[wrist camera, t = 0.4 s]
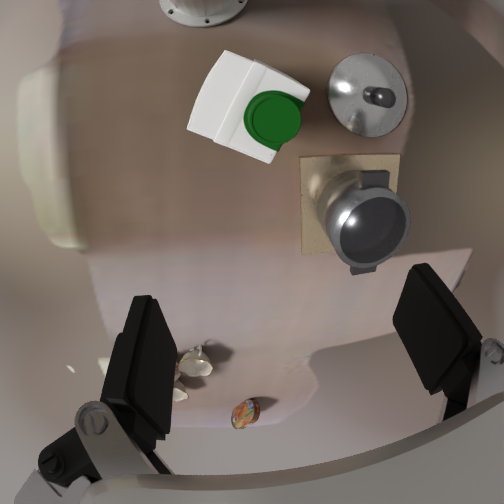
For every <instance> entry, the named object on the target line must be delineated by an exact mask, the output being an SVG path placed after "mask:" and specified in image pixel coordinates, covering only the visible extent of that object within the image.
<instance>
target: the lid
mask: <svg viewBox="0 0 504 504" xmlns="http://www.w3.org/2000/svg"><path fill="white" fill-rule="evenodd" d="M327 95H328V101H329V105H330V107H331V110H332V112H333V114H334V115H335V117H336V118H337V120H338V121H339V122H340V123H341V124H342V125H343V126H344V127H345V128H347V129H348V130H350V131H351V132H353V133H355V134H358V135H361V136H365V137H378V136H382V135H385V134H387V133H389V132H390V131H392V130H393V129H394V128H395V127H396V126H397V125H398V124H399V123H400V121H401V120H402V118H403V115H404V113H405V110H406V104H407V93H406V88H405V85H404V82H403V80H402V78H401V76H400V74H399V73H398V71H397V70H396V69H395V67H394V66H393V65H392V64H390V63H389V62H388V61H387V60H385V59H383V58H381V57H379V56H377V55H374V54H369V53H360V54H354V55H350V56H348V57H346V58H344V59H342V60H341V61H340V62H339V63H338V64H337V65H336V66H335V67H334V69H333V70H332V72H331V74H330V77H329V80H328V86H327Z"/></svg>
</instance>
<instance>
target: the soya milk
mask: <svg viewBox="0 0 504 504" xmlns="http://www.w3.org/2000/svg"><path fill="white" fill-rule="evenodd" d="M253 60H254V61H253ZM253 60H250V59H248V58H245V57H243V56H240V55H238V54H235V53H232V52H230V51H227V50H225V51H224V52H223V54H222V55H221V56H220V58H219V59H218V61H217V62H216V64H215V65H214V66H213V68H212V69H211V71H210V72H209V74H208V76H207V78H206V80H205V82H204V84H203V86H202V88H201V90H200V92H199V94H198V97H197V99H196V101H195V104H194V107H193V110H192V114H191V117H190V120H189V123H188V126H187V130H190V131H192V132H195V133H198V134H200V135H203V136H205V137H208V138H210V139H213V141H214V142H216V143H218V144H221V145H223V146H227V147H229V148H232V149H234V150H237V151H239V152H241V153H244V154H246V155H249V156H251V157H254V158H256V159H259V160H261V161H263V162H266V163H268V164H270V163H271V162H272V160H273V158H274V156H275V154H276V152H278V151H279V150H280V148H281V146H282V144H284V143H286V142H288V141H290V140H291V139H292V138H294V137H295V135H296V134H297V133H298V131H299V129H300V126H301V114H300V111H301V110H302V108H303V106H304V104H305V102H304V101H305V100H306V98H307V96H308V95H309V93H310V89H308V88H307V87H305V86H304V85H302V84H301V83H299V82H298V81H296V80H295V79H293V78H291V77H290V76H288V75H286V74H285V73H283V72H281V71H279V70H277V69H275V68H273V67H271V66H269V65H267V64H265V63H263V62H261V61H259V60H256V59H253Z"/></svg>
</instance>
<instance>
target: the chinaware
mask: <svg viewBox="0 0 504 504" xmlns="http://www.w3.org/2000/svg"><path fill="white" fill-rule="evenodd" d="M213 367H214V366H213V365H212V364H211V363H210V360H209V358H208V356H207V355H206V354H205V353H203V352H202V345H199V347H197V348H195V347H194V348H193V349H191V350H189V352H187V353H186V354H185V355H184V356H183V358H182V360H181V361H180V362H179V364H178V363H177V359H176V368H175V378H174V388H173V400H174V401H182V400H183V399H188V398H189V397H188V394H187V393H186V389H185V387H184V385H183V384H182V383H181V382H180V380H179V379H178V378H179V377H180V375H181V372H185V373H186V374H187V375H188V376H191V377H198V376H200V374H201V375H202V376H209V375H210V374H211V372H212V369H213Z"/></svg>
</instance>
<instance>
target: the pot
mask: <svg viewBox="0 0 504 504" xmlns="http://www.w3.org/2000/svg"><path fill="white" fill-rule="evenodd" d="M399 163H400V154H398V153H370V154H336V155H318V156H303V157H299V171H300V200H301V253H302V255H308V254H316V253H323V252H330V251H336V253H337V254H338V256H339V257H340V259H341V260H342V261H343V262H345V263H346V264H348V265H350V272H351V274H352V275H358V274H364V273H370V272H375V271H376V267H377V265H379V264H381V263H383V262H385V261H386V260H388V259H389V258H391V257H392V256H393V255H394V254H395V253H396V252H397V251H398V250H399V249H400V247H401V246H402V245H403V243H404V241H405V239H406V237H407V235H408V232H409V228H410V212H409V209H408V207H407V205H406V203H405V202H404V200H403V199H402V198H401V197H399V196H398V195H397V194H396V192H397V182H398V174H399Z"/></svg>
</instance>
